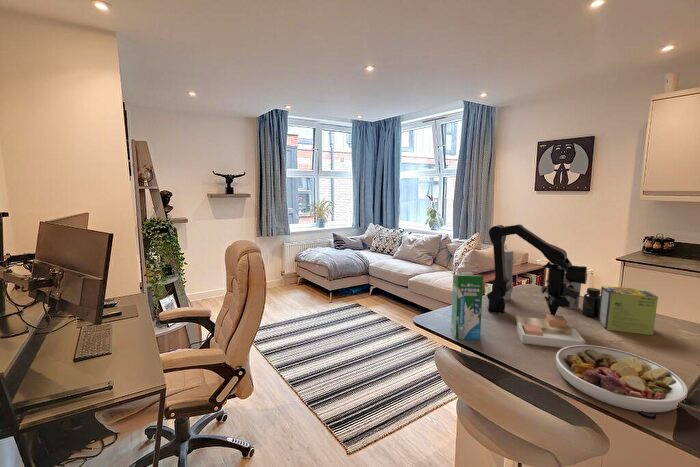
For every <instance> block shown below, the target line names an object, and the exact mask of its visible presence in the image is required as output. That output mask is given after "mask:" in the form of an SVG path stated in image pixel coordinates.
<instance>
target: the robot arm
mask: <svg viewBox="0 0 700 467" xmlns="http://www.w3.org/2000/svg"><path fill="white" fill-rule="evenodd" d="M488 235H489V240H490V242H491V244H492V246H493V248H492V249H493V259H494V280H493V283H492V290H491V291H490V292H488V293H487V294H486V296H487V299H488V301H487V311H488V313H493V314H494V313H495V314H505V313H504V312H505V311H506V301H504V298H503V297H504V296H505V295H506V294H507V293H508V292H509V291H510V289H511V288H512V287H511V279H509V280H508V279H507V277H506V270H505V253H504V249H505V243H506V240H507V236H510V235H512V236H513V235H517V236H518V237H519V238H520V239H523V241H525V242H527V243H528V244H530V245H531V246H533V247H534V248H535V249H537V250H538V251H539V252H540V253H541V254H542V255H543V256H544V258H545V259H547V262H546V263H545V264H544V265H543V266H542V268H544V269H548V272H547V273H548V274H547V279H546V281H545V282H546V284H547V285H543V286H541V287H540V292H541V294H546V296H545V295H544V297H543V298H544V300H545V303H546V305H547V308H548V310H549V312H550V315H556V314H557V312H558V310H559V307H560V308H561V307H562V308H565V307H570V302H569V301H568V300H567V299H566V298H565V297H566V295H567V296H569V297H572V298H573V299H576V300H577V298H578V296H579V294H580V295H581V291H580V292H579V291H577V290H576V289H574V286H573V285H571V284H567V285H566V284H565V283H564V275H565V271H566V279H567V280H568V281H569V282H575V283H581V285H586V284H587V281H588V267H587V266H585V265H584V266H583V265H582V266H580V265H573V263H572V262H571V261H570V260H569V258H568V254H567V251H565V249H564V248H561V247H558V246H557V245H553V244H551V243H549V242H547V241H545V240H544V239H542V238H541V237H540V236H538V235H536V234H535V233H533V232H532V231H530V230H529V229H528V228H526V227H524V225H522V224H521V223H518V224H514V225H505V226H504V225H502V224H498V225H494V226H492V227H490V228H489V230H488ZM561 296H563V297H561Z"/></svg>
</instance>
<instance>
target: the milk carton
mask: <svg viewBox="0 0 700 467" xmlns="http://www.w3.org/2000/svg"><path fill="white" fill-rule="evenodd" d="M483 288H484V275H479V274H478V275H477V274H476V275H473V272H471V271H462V272H461V274H453V275H452V295H451V296H452V298H451V300H452V301H451V320H450V324H451V325H450V329H451V331H452V334H453V337H454V338H455V340H472V341H473V340H475V341H480V340H481V329H482V328H481V326H482V310H483V309H482V306H483Z"/></svg>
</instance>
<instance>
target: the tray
mask: <svg viewBox="0 0 700 467" xmlns="http://www.w3.org/2000/svg"><path fill="white" fill-rule="evenodd" d="M516 331H517V333H518V336H519V338H520V341H521V344H525V345H533V346H540V347H541V346H542V347H550V348H558V349H562V348H564V347H568V346H574V345H587V342H586V340H585V339H584V338H583V337H582V336H581V334H580V333H579V332H578V331H577V329H576V328H573V327H571V335H567V334H558V333H549V332H544V333H543V336H536V335H527V334H525V332H524V330H523V328H522V326H521V323H518V322H517V323H516Z"/></svg>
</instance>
